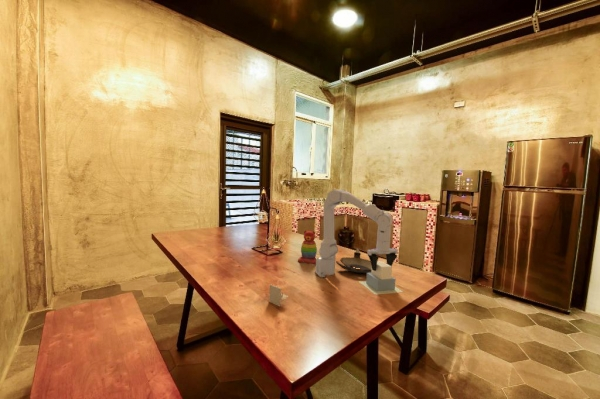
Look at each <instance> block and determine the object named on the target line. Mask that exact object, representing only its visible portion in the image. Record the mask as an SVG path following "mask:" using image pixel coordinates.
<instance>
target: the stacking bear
mask: <svg viewBox="0 0 600 399" xmlns="http://www.w3.org/2000/svg"><path fill="white" fill-rule="evenodd" d="M315 238H316V232H315V231H311V230H304V231H303V241H302V244H301V247H300V252H301V253H300V254H301V256H300V257H299V258H298V259H297V262H298V263H305V264H311V265H316V259H317V257H316V256H317V253H318V248H317V243H316V241H315Z"/></svg>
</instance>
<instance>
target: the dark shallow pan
mask: <svg viewBox="0 0 600 399" xmlns="http://www.w3.org/2000/svg"><path fill="white" fill-rule="evenodd" d="M339 261H340V262H339ZM339 261H338V260H337V261H336V260H335V264H337V265H338V266H339V267H340V268H342V269H344V270H346V271H349V272H352V273H355V274H356V273H358V274H367V273H371V268H372V265H371V261H370V259H366V258H361V252H360V249H359V248H356V250H355V251H354V253H353V257H349V256H347V257H341V258H340V259H339ZM341 263H342V264H341ZM352 267H355V268H352ZM356 268H360V269H356Z"/></svg>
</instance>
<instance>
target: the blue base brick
mask: <svg viewBox="0 0 600 399" xmlns="http://www.w3.org/2000/svg"><path fill="white" fill-rule="evenodd" d="M365 281H366V284H368V285H369V286H370V287H372V288H373V289H374V290H376V291H377V292H379V291H388V290H395V287H396V278H394V277H393V276H392V275H391V279H384V280H381V279H379V278H378V277H376V276H375V275H373V274H372V273H371V272H368V273H366V280H365Z"/></svg>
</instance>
